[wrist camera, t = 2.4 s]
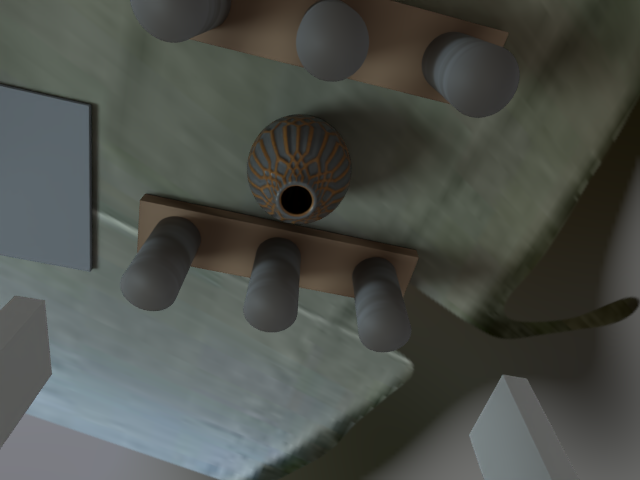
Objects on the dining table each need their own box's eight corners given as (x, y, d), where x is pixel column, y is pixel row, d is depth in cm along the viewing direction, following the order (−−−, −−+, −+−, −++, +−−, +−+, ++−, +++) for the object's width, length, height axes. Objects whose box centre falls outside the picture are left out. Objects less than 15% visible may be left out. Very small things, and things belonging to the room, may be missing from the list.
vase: (317, 85, 32) (317, 118, 24) (364, 167, 34) (378, 220, 27) (235, 136, 33) (211, 181, 26) (287, 210, 36) (278, 270, 29)
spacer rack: (142, 248, 38) (100, 310, 31) (159, -63, 27) (103, -79, 20) (397, 298, 40) (414, 366, 33) (502, 30, 30) (560, 45, 23)
